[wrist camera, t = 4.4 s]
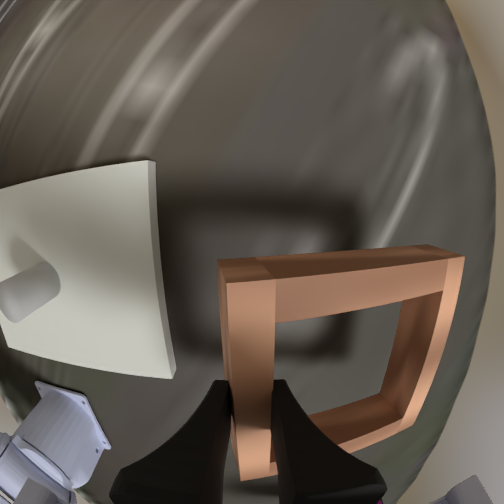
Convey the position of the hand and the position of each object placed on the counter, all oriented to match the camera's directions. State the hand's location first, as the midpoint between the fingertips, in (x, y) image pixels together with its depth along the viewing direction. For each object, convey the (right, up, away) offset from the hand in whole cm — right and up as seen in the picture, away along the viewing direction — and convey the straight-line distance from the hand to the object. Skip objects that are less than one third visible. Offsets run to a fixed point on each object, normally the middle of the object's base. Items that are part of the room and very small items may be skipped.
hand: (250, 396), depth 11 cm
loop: (+5, +1, +3) cm, 5 cm away
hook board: (-16, +5, +8) cm, 19 cm away
